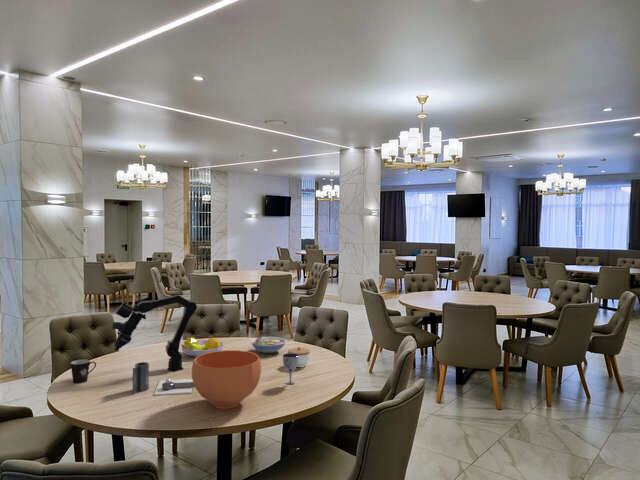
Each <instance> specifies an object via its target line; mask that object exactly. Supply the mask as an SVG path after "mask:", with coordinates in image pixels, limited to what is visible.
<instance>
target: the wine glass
mask: <svg viewBox="0 0 640 480" xmlns="http://www.w3.org/2000/svg"><path fill="white" fill-rule="evenodd" d="M282 363H283V367H284V368H285V369H286V371H287V372H288V374H289V381H288V383H287V382H284V383H285V384H286V385H294V384H295V383H296V382H294V381H292V375H293V372H294V370H296V367H297V365H298V354H295V353H288V352H287V353H286V352H285V353H284V354H282ZM293 382H294V383H293Z"/></svg>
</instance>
